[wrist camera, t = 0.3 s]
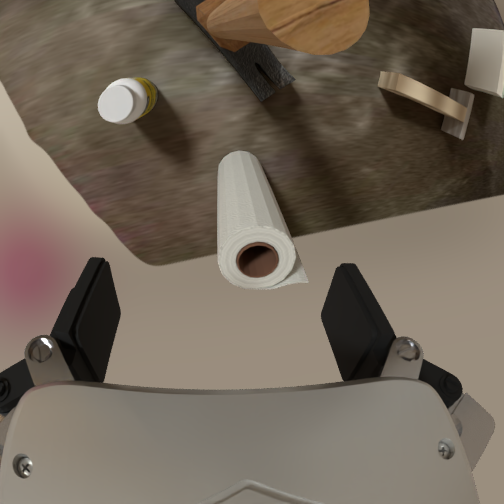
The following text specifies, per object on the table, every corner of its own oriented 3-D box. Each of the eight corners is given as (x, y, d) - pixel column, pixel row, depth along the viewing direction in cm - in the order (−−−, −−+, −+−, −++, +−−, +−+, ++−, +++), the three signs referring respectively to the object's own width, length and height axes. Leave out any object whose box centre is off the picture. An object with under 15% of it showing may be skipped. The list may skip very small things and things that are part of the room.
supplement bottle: (159, 113, 34) (141, 125, 26) (121, 118, 34) (93, 133, 26) (157, 74, 31) (137, 74, 23) (118, 80, 31) (88, 84, 23)
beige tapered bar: (373, 103, 36) (391, 109, 32) (384, 55, 31) (402, 55, 27) (444, 131, 38) (463, 140, 34) (454, 89, 34) (474, 95, 30)
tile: (472, 28, 27) (504, 30, 20) (479, 33, 27) (511, 37, 20) (464, 84, 33) (496, 93, 27) (470, 88, 33) (502, 98, 27)
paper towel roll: (210, 160, 39) (203, 246, 21) (251, 142, 38) (281, 214, 20) (232, 203, 43) (243, 310, 25) (270, 187, 42) (309, 284, 24)
